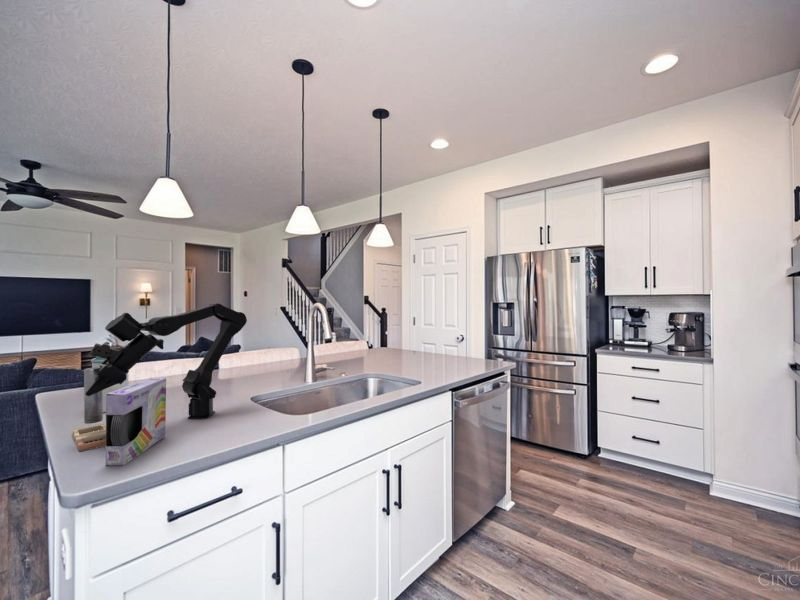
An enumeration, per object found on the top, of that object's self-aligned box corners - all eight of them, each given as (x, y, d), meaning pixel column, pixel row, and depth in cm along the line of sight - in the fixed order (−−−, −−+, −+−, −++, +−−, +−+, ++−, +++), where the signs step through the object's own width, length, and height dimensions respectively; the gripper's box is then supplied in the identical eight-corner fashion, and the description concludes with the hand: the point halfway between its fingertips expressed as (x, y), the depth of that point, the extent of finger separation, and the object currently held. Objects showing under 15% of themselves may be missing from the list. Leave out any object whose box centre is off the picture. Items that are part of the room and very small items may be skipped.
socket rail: (114, 443, 100) (114, 438, 101) (78, 451, 95) (78, 446, 95) (104, 428, 113) (104, 423, 113) (72, 434, 108) (72, 429, 108)
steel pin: (106, 418, 105) (105, 367, 105) (96, 423, 101) (96, 369, 101) (90, 419, 105) (90, 367, 105) (80, 424, 101) (80, 370, 101)
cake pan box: (122, 467, 86) (122, 393, 86) (99, 468, 85) (99, 393, 86) (167, 437, 105) (167, 376, 105) (149, 438, 105) (149, 376, 105)
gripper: (110, 331, 113) (62, 371, 106) (110, 335, 98) (55, 381, 91) (142, 354, 118) (98, 393, 111) (146, 361, 103) (96, 407, 96)
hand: (87, 393), depth 102 cm, fingers closed on steel pin, 4 cm apart
